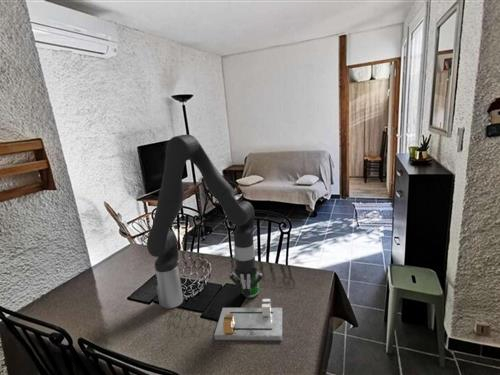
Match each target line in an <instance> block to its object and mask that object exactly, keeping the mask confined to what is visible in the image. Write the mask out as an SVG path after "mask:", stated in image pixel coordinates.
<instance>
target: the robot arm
mask: <svg viewBox="0 0 500 375" xmlns="http://www.w3.org/2000/svg"><path fill="white" fill-rule="evenodd" d="M187 161H190V162H191V163H193V165H195V166H196V168H197V169H198V171H199V172H200V174H201V176H202V180H203V182H204V184H205V186H206V189H207V190H208V191H209V192H210V194H211V195H212V196H213V197H214V199H216V201H217V202H218V203H219V204H220V206H221V208H222V210H223V211H224V214H225V216H226V217H227V219H228V220H229V221H230V223H232V224H233V225H235V226H236V227H235V229H234V232H233V243H234V244H233V246H234V247H233V248H234V249H233V254H234V265H235V269H234V270H233V271H232V272H230V273H229V274H230V275H229V279H230V280H231V281H232V282H233V283H234V284H235V285H236V287H238V288H241V289H242V288H243V293H242V294H243V296H244V297H245V298H249V296H250V295H251V288H252V287H253V288H254V287H255V286H256V285H257V284H259V282H260V281H261V280H262V279H263V272H260V271H258V269H257V267H256V256H255V255H256V250H255V244H254V233H253V232H254V227H255V226H254V225H255V215H256V214H255V208H254V206H253V205H252V203H251V202H249V201H247V200H243V201H240V202H238V200H237V198H236V195H237V191H236V190H235V189H234V188H233V187H232V185H231V184H230V183H229V182H228V181H227V180H226V179H225V178H224V176H223V175H222V174H221V173H220V171H219V170H218V169H217V168H216V166H215V165H214V163H213V162H212V159H211V158H210V157H209V155H208V154H207V152H206V151H205V150H204V148H203V146H202V144H201V142H199V140H198V139H197V138H196V137H195V136H194V135H192V134H187V133H186V134H181V135H176V136H173V137H171V138H169V140H168V142H167V145H166V149H165V158H164V167H163V168H164V169H163V174H162V180H161V186H160V190H159V193H158V199H157V203H156V209H155V213H154V217H153V222H152V225H151V229H150V231H149V234H148V236H147V240H146V248H147V249H146V250H147V251H148V253H149V254H150V255H151V256H152V257H154V258H156V260H155V261H154V262H155V263H154V269H155V275H156V281H157V285H156V293H157V296H158V303H159V306H160V307H163V308H164V309H173V308H177V307H179V306H180V305H181V304H183V302H184V296H183V290H182V282H181V276H180V270H179V266H178V265H179V264H178V260H179V249H178V240H177V237H176V235H175V233H174V231H172V230H171V227H172V225H173V224H174V221H175V220H176V219H177V217H178V215H179V214H180V212H181V209H182V206H183V203H184V198H185V187H184V183H183V180H182V179H183V178H182V177H183V173H184V172H183V171H184V168H185V165H186V163H187ZM255 275H256V278H255V279H254V281H253V282H251V280H252V279H253V277H254V276H255ZM246 280H247V286H246Z"/></svg>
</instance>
